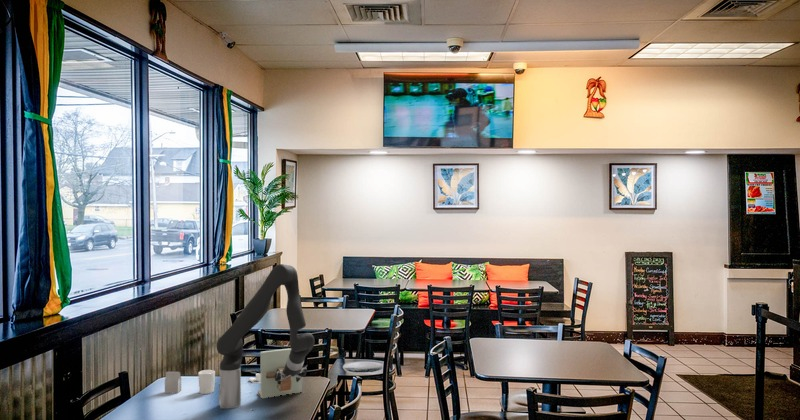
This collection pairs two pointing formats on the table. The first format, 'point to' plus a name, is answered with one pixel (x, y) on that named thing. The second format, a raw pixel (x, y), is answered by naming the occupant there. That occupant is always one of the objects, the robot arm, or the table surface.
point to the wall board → (268, 370)
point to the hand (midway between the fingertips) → (288, 381)
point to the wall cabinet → (284, 383)
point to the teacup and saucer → (258, 377)
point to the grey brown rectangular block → (172, 382)
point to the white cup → (206, 381)
